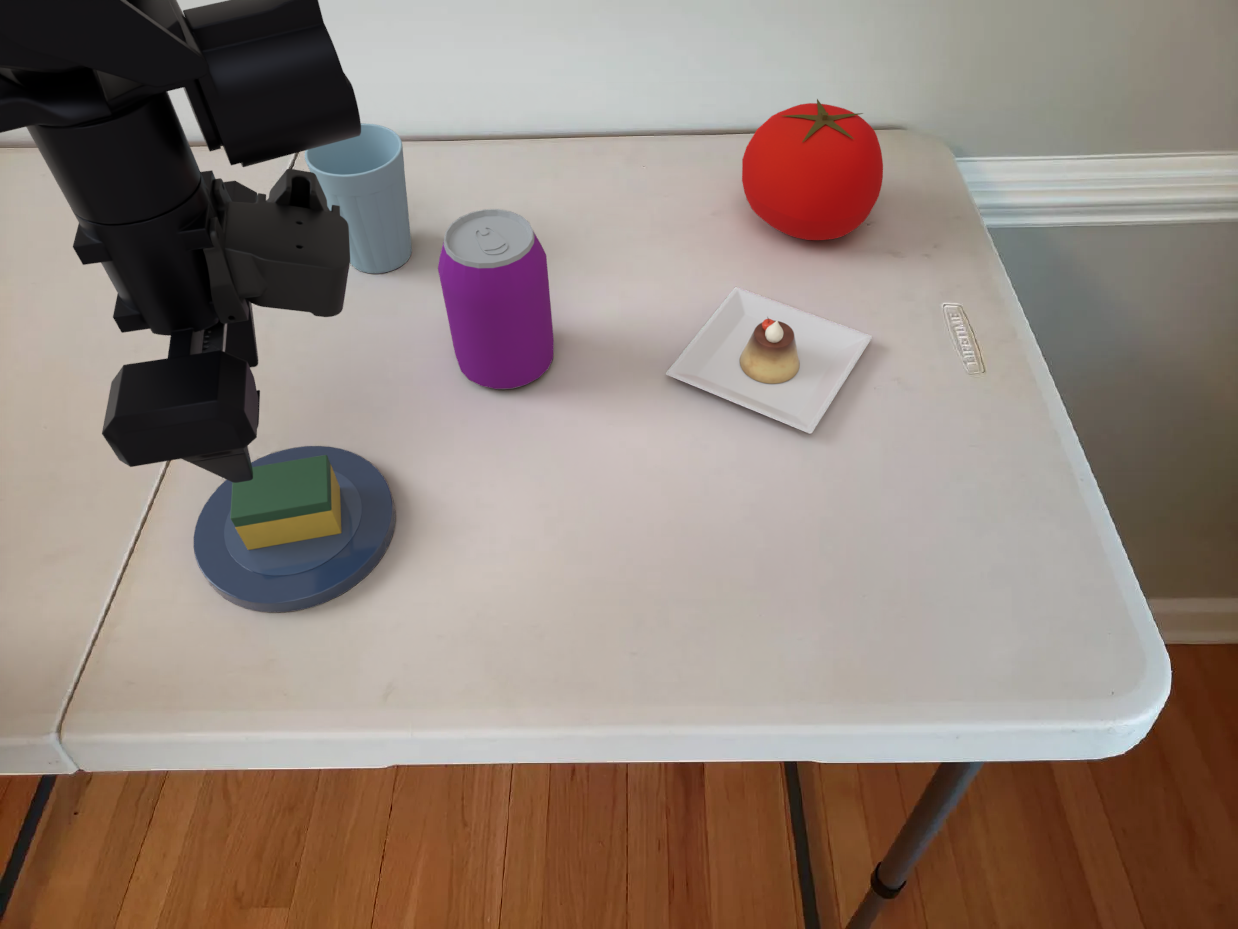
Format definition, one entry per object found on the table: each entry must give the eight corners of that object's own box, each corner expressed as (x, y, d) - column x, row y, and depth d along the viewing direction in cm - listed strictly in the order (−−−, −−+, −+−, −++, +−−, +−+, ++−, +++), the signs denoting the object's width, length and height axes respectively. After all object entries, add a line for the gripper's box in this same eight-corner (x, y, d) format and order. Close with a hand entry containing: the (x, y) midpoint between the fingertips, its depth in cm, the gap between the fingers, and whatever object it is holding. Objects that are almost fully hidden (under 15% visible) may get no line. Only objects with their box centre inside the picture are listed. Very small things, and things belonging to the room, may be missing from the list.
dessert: (734, 296, 77) (740, 249, 74) (870, 346, 73) (882, 299, 70) (664, 384, 71) (666, 337, 67) (809, 444, 67) (819, 398, 63)
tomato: (892, 212, 85) (920, 105, 76) (833, 279, 79) (857, 171, 70) (778, 170, 89) (793, 65, 81) (714, 230, 83) (723, 124, 75)
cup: (442, 242, 82) (421, 136, 74) (389, 292, 78) (361, 185, 70) (374, 219, 85) (346, 114, 77) (319, 266, 80) (284, 160, 72)
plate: (192, 630, 57) (184, 620, 56) (206, 473, 66) (199, 462, 65) (402, 591, 59) (398, 580, 58) (390, 442, 67) (386, 431, 66)
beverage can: (443, 348, 74) (416, 222, 64) (530, 317, 76) (516, 190, 67) (481, 409, 69) (457, 284, 60) (572, 374, 72) (563, 248, 62)
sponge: (247, 550, 60) (229, 518, 57) (250, 502, 62) (232, 469, 60) (341, 533, 61) (328, 501, 58) (340, 487, 63) (327, 454, 60)
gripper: (318, 291, 37) (395, 520, 49) (315, 68, 49) (378, 297, 61) (26, 334, 36) (178, 559, 48) (94, 93, 47) (203, 323, 59)
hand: (247, 419), depth 54 cm, fingers open, 9 cm apart
